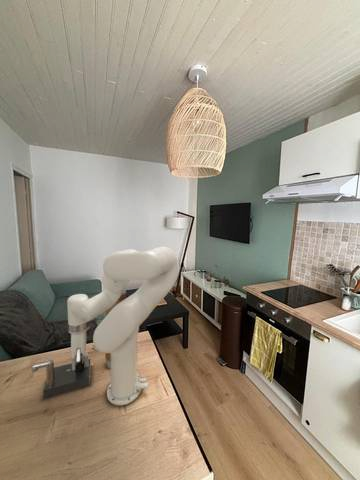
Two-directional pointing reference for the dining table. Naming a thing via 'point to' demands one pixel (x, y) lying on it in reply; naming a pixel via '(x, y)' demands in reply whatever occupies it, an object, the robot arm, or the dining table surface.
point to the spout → (49, 370)
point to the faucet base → (67, 380)
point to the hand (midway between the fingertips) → (80, 366)
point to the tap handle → (85, 359)
